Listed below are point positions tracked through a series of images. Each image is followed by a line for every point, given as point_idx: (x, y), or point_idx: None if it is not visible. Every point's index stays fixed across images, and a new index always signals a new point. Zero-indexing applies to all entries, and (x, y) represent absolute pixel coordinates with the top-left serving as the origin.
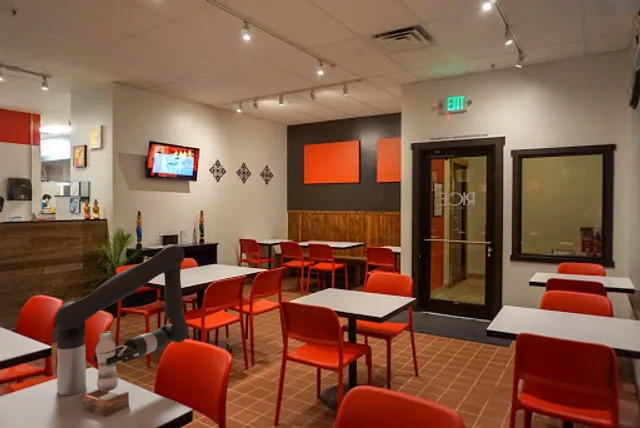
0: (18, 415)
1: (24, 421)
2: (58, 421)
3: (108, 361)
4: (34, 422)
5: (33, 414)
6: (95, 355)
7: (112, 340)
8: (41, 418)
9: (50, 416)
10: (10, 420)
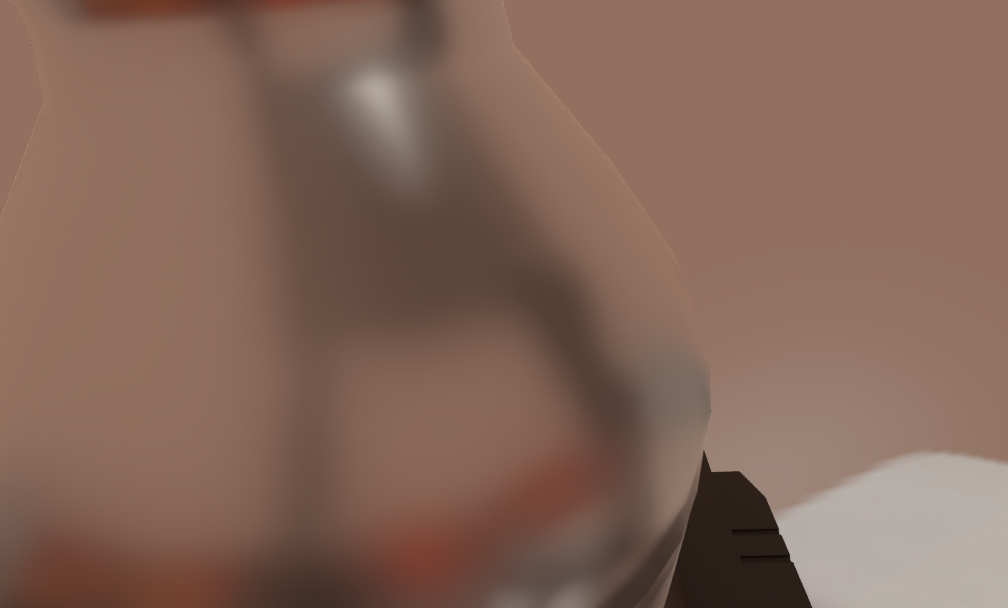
0: (1005, 511)
1: (851, 494)
2: None
3: None
4: (781, 514)
5: (950, 563)
6: None
7: (33, 229)
8: (817, 559)
9: None
10: (938, 465)
